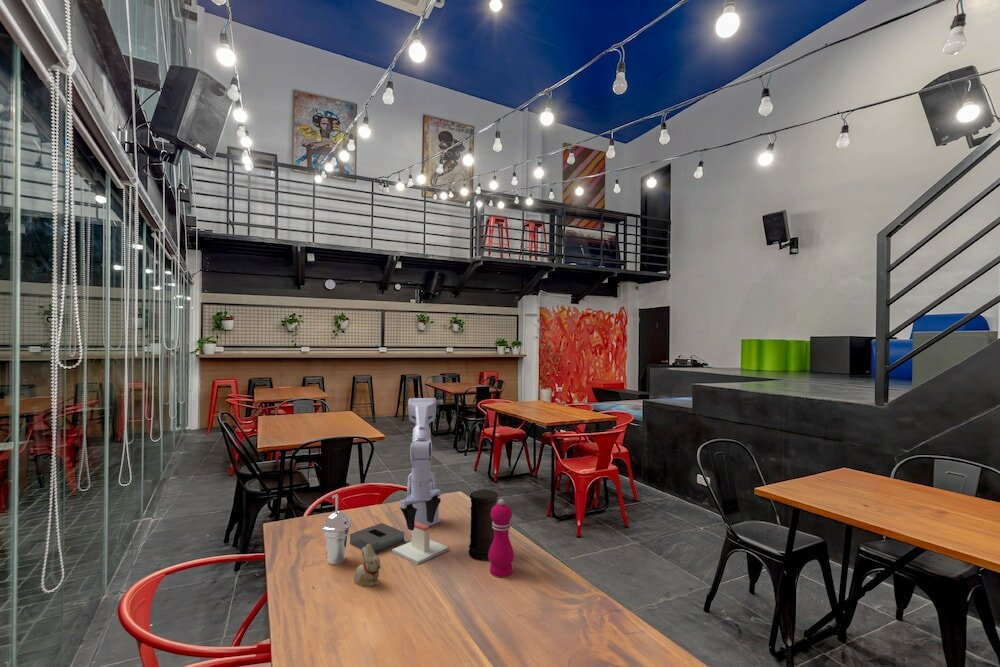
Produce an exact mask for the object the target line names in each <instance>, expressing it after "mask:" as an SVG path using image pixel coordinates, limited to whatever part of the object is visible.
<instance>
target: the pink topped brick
mask: <svg viewBox="0 0 1000 667" xmlns="http://www.w3.org/2000/svg"><path fill="white" fill-rule="evenodd" d="M430 527H431V526H427V525H424V524H422V523H419V522H415V525H414V530H411V541H412V547H413V548H416V549H418V550H420V551H422V552H426V551H428V550H429V544H430V540H431V538H430V536H431V535H430V531H431V530H430V529H431V528H430Z"/></svg>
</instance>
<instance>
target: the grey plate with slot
mask: <svg viewBox="0 0 1000 667" xmlns="http://www.w3.org/2000/svg"><path fill="white" fill-rule="evenodd" d="M404 542H405V531H402V530H400V529H397V528H395V527H393V526H390V525H389V524H386V523H383V522H380V523H377V524H375V525H372V526H370V527H369V526H368V527H366V528H363V529H360V530H358V531H355V532H352V533H349V545H352V546H354V547H355V548H357V549H360V550H361V551H362V548H363V547H365V546H366V545H367V544H370V545H371V546H372V547H373V550H374V552H375V554H376V555H377V554H378V553H380V552H382V551H385V550H388V549H390V548H392V547H395V546H397V545H400V544H402V543H404Z"/></svg>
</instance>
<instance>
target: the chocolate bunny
mask: <svg viewBox="0 0 1000 667" xmlns="http://www.w3.org/2000/svg"><path fill="white" fill-rule="evenodd" d="M361 554H362V558H363V564H360V565H359V566H358V567H357V568H356V569H355V571H354V575H353V578H354V580H353V581H354V583H355V584H356V585H358V586H361V587H368V588H370V587H375V586H377V585H378V582H379V580H378V578H379V575H380V571H379V570H380V569H381V559H380V557H379V556H378V555H377V553H376V554H375V552H374V550H373V547H372V546H371V545H370V544H367V545H366V546H365V547H363V548H362V550H361Z"/></svg>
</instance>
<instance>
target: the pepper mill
mask: <svg viewBox="0 0 1000 667" xmlns="http://www.w3.org/2000/svg"><path fill="white" fill-rule="evenodd" d="M497 501H498V503H496V505H495V506H494V507H493V508H492V510H491V518H492V520H493V523H492V524H493V526H492V528H493V529H494V539H493V542H492V544H491V547H490V549H489V553H488V559H489V560H488V561H489V562H490V564H489V573H490V574H491V575H492V576H494V577H497V578H505V577H510V576H511V575H512V573H513V564H512V563H513V561H514V559H515V551H514V548H513V546H512V544H511V539H510V536H509V535H510V534H509V530H510V528H511V522H510V521H511V520H512V519H513V511H512V508H511V507H510V506H509V505H508V504H506V501H505V500H504V498H500V499H498V500H497Z"/></svg>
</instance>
